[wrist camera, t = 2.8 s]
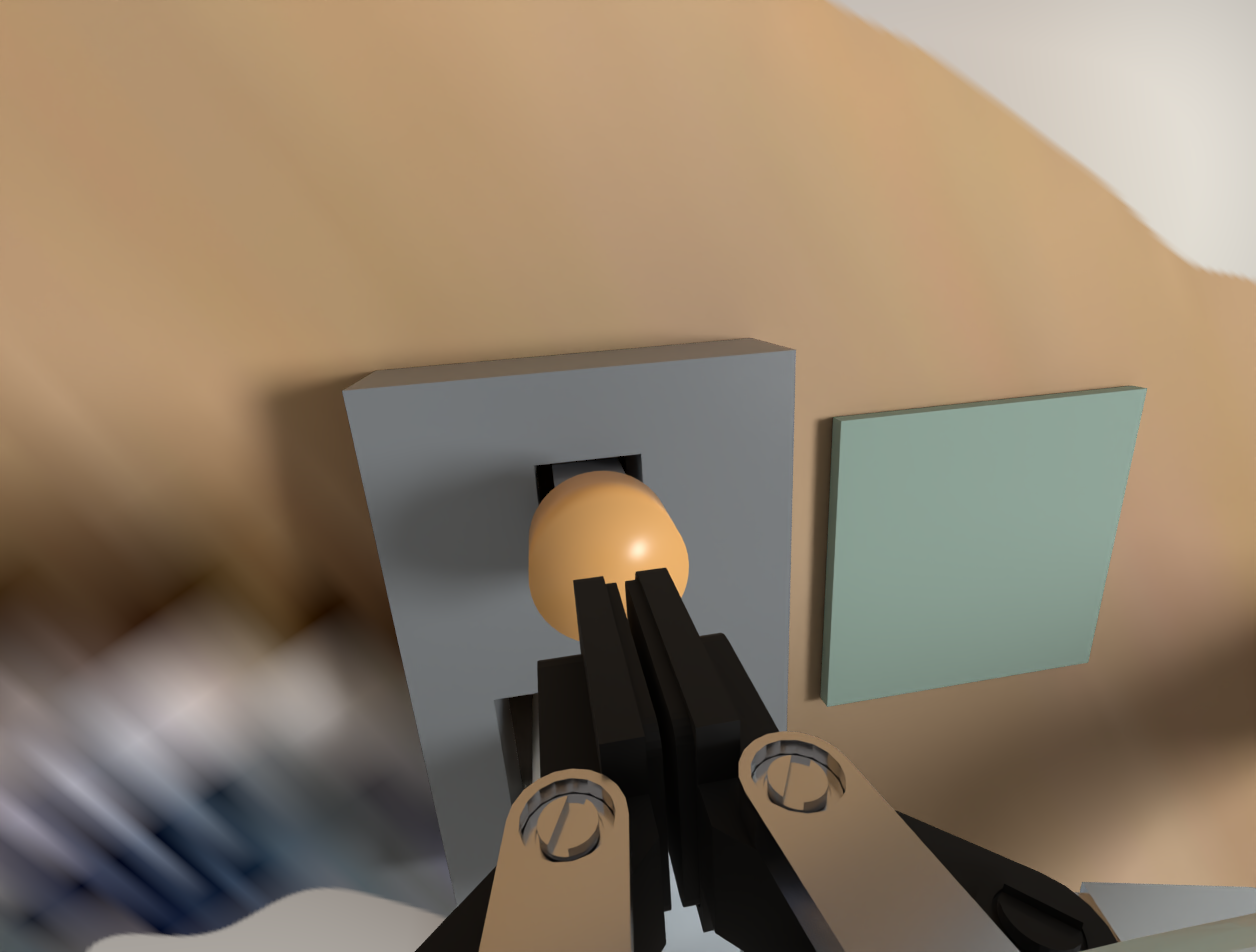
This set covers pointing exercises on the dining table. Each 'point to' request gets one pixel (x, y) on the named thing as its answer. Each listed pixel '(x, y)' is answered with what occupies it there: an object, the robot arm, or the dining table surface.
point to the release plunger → (597, 537)
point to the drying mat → (971, 539)
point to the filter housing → (501, 517)
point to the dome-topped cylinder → (683, 928)
